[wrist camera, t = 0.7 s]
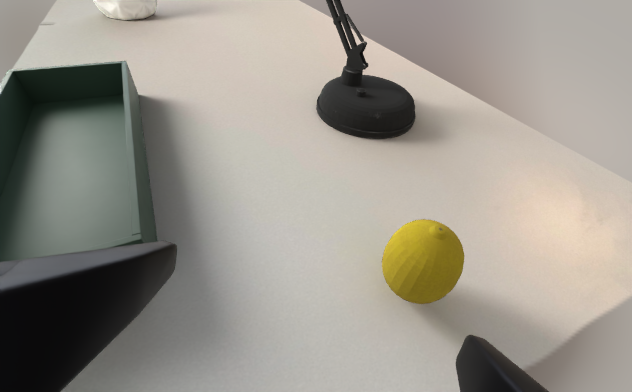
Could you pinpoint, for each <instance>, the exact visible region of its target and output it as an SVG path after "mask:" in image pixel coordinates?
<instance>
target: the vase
mask: <svg viewBox="0 0 632 392" xmlns="http://www.w3.org/2000/svg"><path fill="white" fill-rule="evenodd" d="M93 1H94V3H95V4H96V6H97V8H98V9H99V10H100V11H101V12H102V13H104V15H106V16H107V17H109V18H114V19H121V20H133V19H144V18H146V17H149V16H151V15H152V14H154V13H155V11H156V5H157V0H93Z"/></svg>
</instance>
